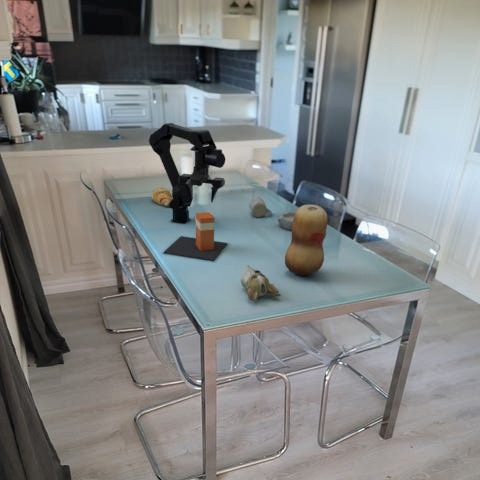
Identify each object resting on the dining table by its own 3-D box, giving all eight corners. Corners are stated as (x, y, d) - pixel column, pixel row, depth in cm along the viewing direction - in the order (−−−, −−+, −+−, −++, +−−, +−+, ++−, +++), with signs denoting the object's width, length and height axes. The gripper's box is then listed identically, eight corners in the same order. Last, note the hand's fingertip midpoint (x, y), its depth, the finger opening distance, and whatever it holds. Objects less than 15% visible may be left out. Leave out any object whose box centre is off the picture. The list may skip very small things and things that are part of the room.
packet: (195, 244, 189) (195, 213, 182) (208, 243, 190) (209, 212, 184) (200, 250, 184) (200, 218, 177) (214, 249, 185) (214, 217, 179)
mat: (163, 253, 181) (163, 251, 181) (181, 237, 196) (181, 236, 196) (212, 261, 177) (212, 259, 177) (227, 244, 192) (227, 242, 192)
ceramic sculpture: (261, 258, 159) (284, 279, 148) (259, 281, 164) (281, 302, 153) (233, 263, 155) (254, 285, 144) (232, 286, 160) (252, 309, 149)
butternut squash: (295, 284, 163) (303, 214, 150) (277, 269, 173) (283, 202, 160) (329, 279, 168) (339, 211, 155) (309, 264, 178) (318, 199, 166)
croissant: (174, 214, 231) (181, 199, 229) (156, 206, 225) (163, 191, 223) (160, 200, 247) (166, 186, 245) (143, 193, 241) (149, 179, 238)
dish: (316, 227, 214) (317, 216, 212) (297, 234, 205) (298, 223, 203) (290, 218, 223) (291, 208, 220) (272, 225, 214) (273, 214, 211)
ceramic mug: (251, 218, 221) (252, 202, 217) (248, 212, 228) (249, 196, 224) (273, 218, 222) (275, 202, 218) (269, 212, 229) (271, 197, 225)
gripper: (172, 165, 188) (174, 203, 196) (217, 170, 184) (216, 209, 192) (183, 159, 197) (183, 196, 205) (225, 164, 193) (224, 201, 201)
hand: (201, 200), depth 201 cm, fingers open, 9 cm apart
